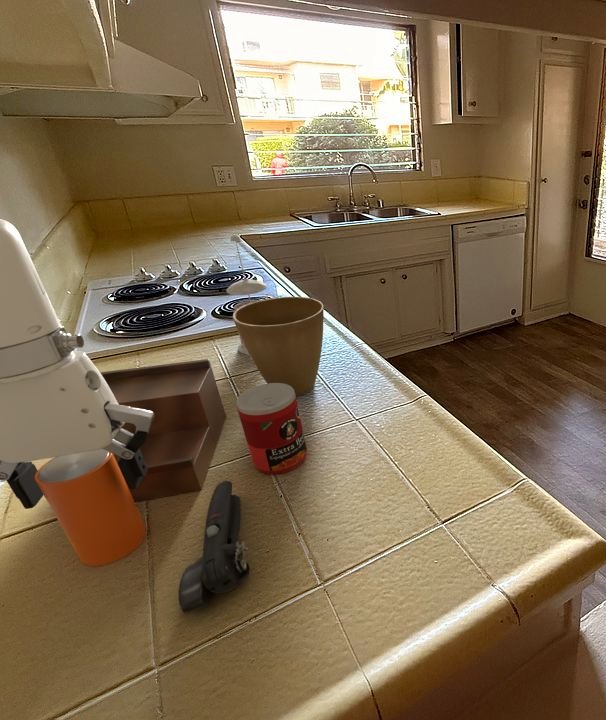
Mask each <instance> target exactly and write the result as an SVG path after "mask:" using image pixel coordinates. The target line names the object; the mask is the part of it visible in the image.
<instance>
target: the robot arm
mask: <svg viewBox="0 0 606 720" xmlns="http://www.w3.org/2000/svg"><path fill="white" fill-rule="evenodd" d="M84 346H85V340H84V337H83V336H82V335H81V334H80V333H79V334H71V333H68V332H67V329H66V328H65V326H64V325H63V326H62V324H61V322H60V320H59V317H58V315H57V313H56V311H55V309H54V306H53V304H52V301H51V300H50V298H49V295H48V293H47V291H46V289H45V286H44V284H43V282H42V280H41V278H40V275H39V273H38V271H37V268H36V266H35V264H34V262H33V260H32V258H31V255H30V254H29V252H28V250H27V247H26V244H25V243H24V241H23V238H22V236H21V234H20V232H19V231H18V230H17V229H16V227H15V226H14V225H13V224H12V223H11V222H9V221H8V220H5V219H2V218H0V481H2V482H7V484H8V486H9V487H10V490H11V491H12V492H13V494H14V496H15V497H16V498H17V499H18V500H19V501H20V503H21V505H22V507H23V508H24V509H25V510H28V509H33V508H35V507H36V506H37V505H38V503H39V502H40V501H41V500H42V498H43V497H44V495H43V493H42V491H41V489H40V487H39V486H38V484H37V482H36V480H35V475H36V473H37V471H38V470H39V469H38V468H37V466H36V465H35V463H33V462H34V461H40V460H47V459H53V458H55V457H60V456H66V455H71V454H77V453H83V452H89V451H94V450H99V449H104V450H106V451H108V452H110V453H113V454H115V455H117V456H119V457H121V458H120V459H119V461H118V466H119V468H120V470H121V472H122V474H123V476H124V479H125V481H126V483H127V485H128V487H129V488H131V489H137V488H138V487H139V485H140V483H141V481H142V479H143V477H144V476H145V475H146V473H147V465H146V463H145V460H144V458H143V456H142V453H141V451H140V449H139V448H140V447H141V446H142V444H143V443H144V442H145V441H146V439H147V437H148V435H149V434H150V432H151V427H152V424H153V421H154V417H155V414H154V413H153V412H152V411H147V410H142V409H138V408H133V407H128V406H123V405H119V404H118V402H117V400H116V398H115V397H114V395H113V393H112V391H111V389H110V388H109V386H108V384H107V383H106V381H105V379H104V378H103V376H102V375H101V373H100V372H101V371H99V369H98V368H97V366H96V365H95V364H94V363H93V361H92V360H91V358H90V357H89V356H88V355H87V354H86V353H85V352H84V351H83V350H76V349H80V348H83V347H84ZM75 350H76V351H75ZM125 422H126V423H131V424H134V425H135V426H136V431H135V433H134V434H132V433H130V432H128V431H126V430H124V429H122V428H120V427H122V426H124V424H125ZM114 439H116V440H118V441H120V442H122V443H124V444H126V445H124V444H122V443H120V442H118V441H116V440H114Z"/></svg>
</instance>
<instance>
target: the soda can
mask: <svg viewBox="0 0 606 720" xmlns="http://www.w3.org/2000/svg"><path fill="white" fill-rule="evenodd" d="M37 470H38V471H37V473H36V475H35V480H36V482H37V484H38V486H39V487H40V489H41V491H42V493H43V497H44V498H45V500H46V502H47V504H48V505H49V507H50V509H51V510H52V512H53V514H54V516H55V517H56V519H57V522H58V523H59V525H60V526H61V528H62V530H63V532H64V533H65V535H66V537H67V539H68V541H69V543H70V544H71V546H72V548H73V550H74V551H75V553H76V555H77V556H78V558H79V560H80V562H81V563H82V564H84V565H86V566H90V567H98V566H103V565H108V564H111V563H114V562H116V561H118V560H120V559H123V558H124V557H126V556H128V555H129V554H131V553H132V552H134V551H135V550H136V549H137V548H138V547H140V545H141V544H143V542H144V541H145V538H146V536H147V535H148V534H147V533H148V528H147V526H146V523H145V522H144V521H145V520H144V519H143V517H142V515H141V512H140V510H139V508H138V506H137V503H136V502H134V499H133V497H132V495H131V493H130V491H129V488H128V486H127V484H126V482H125V479H124V477H123V475H122V473H121V471H120V468H119V466H118V464H117V462H116V460H115V457H114V455H113V453H110V452H108V451H106V450H104V449H99V450H94V451H89V452H83V453H77V454H71V455H66V456H60V457H53V458H50V460H48V461H47V462H46V463H44V464H43V465H41V467H39V468H38V469H37Z"/></svg>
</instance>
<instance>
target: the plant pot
mask: <svg viewBox="0 0 606 720" xmlns="http://www.w3.org/2000/svg"><path fill="white" fill-rule="evenodd" d="M260 300H261V301H257V302H254V303H250V304H247V305H245V306H243V307H241V308H239V309H237V310H234V312H233V314H232V320H233V323H234V325H235V327H236V329H237V332H239V333H238V335H239V334H240V336H239V338H240V337H241V339H242V341H243V343H244V345H245V347H246V349H247V351H248V353H249V354H248V355H249V357H250V358H251V361H252V362H253V364H254V366H255V367H256V369H257V371H258V372H259V373H260V375H261V376H262V378H263V380H264V382H265V383H266V384H268V383H283V384H287V385H289V386H291V387H292V388H293V389H294V392H295V395H296V397H300V396H302V395H306V394H307V393H310V391H312V390H313V389H314V387H315V385H316V381H317V377H318V373H319V367H320V362H321V355H322V349H323V340H324V304H323V303H322V302H321V301H320V300H318V299H315V298H311V297H306V296H281V297H280V296H279V297H275V298H273V297H271V298H269V299H266V298H265V299H263V300H262V299H260Z"/></svg>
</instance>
